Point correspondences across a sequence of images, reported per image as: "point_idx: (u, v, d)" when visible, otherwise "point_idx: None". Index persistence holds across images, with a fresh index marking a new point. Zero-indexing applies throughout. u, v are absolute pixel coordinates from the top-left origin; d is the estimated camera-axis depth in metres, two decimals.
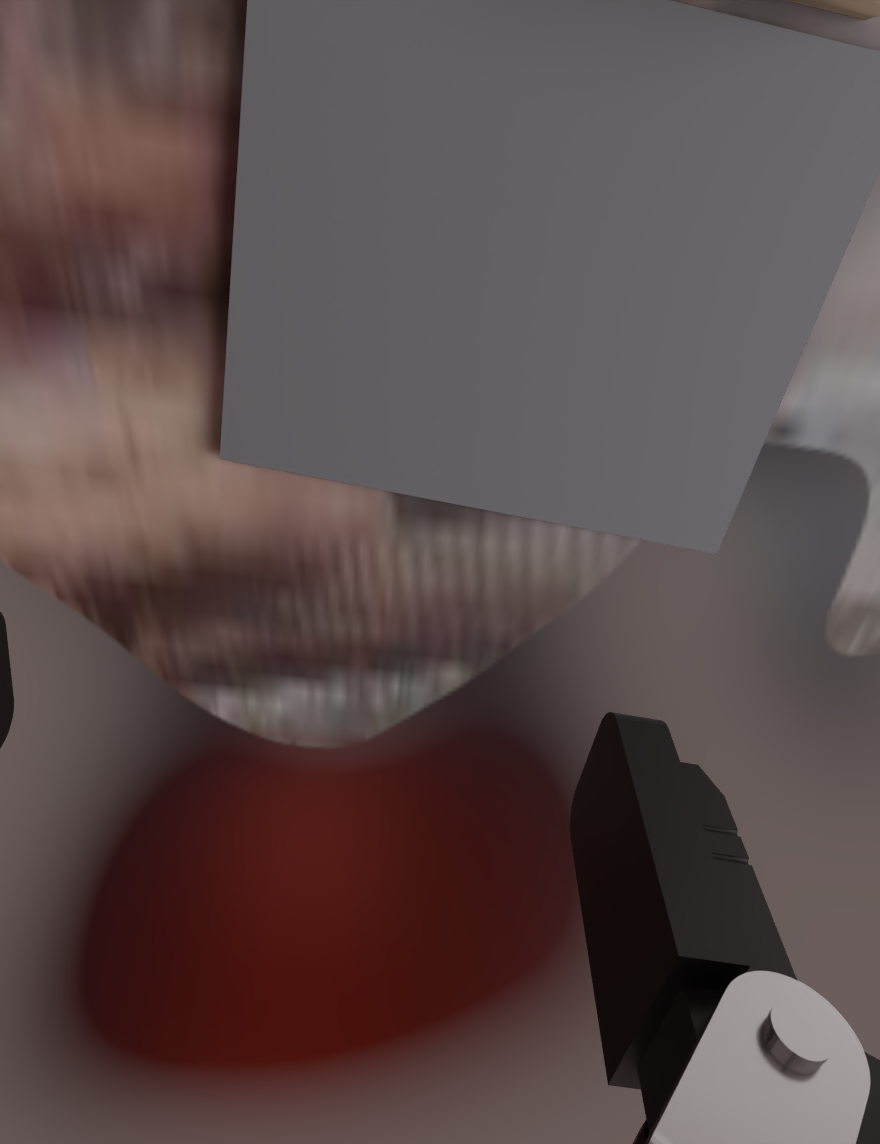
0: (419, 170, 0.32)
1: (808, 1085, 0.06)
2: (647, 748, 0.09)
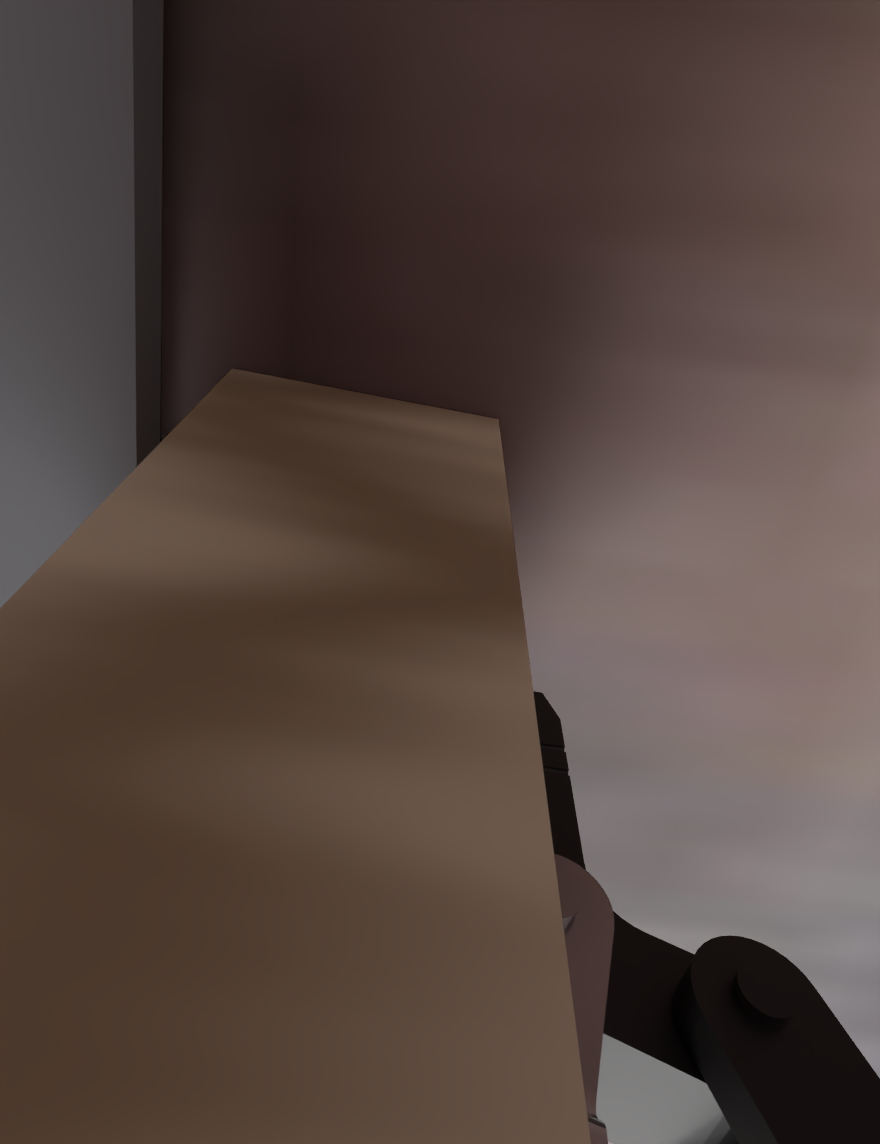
0: None
1: None
2: None
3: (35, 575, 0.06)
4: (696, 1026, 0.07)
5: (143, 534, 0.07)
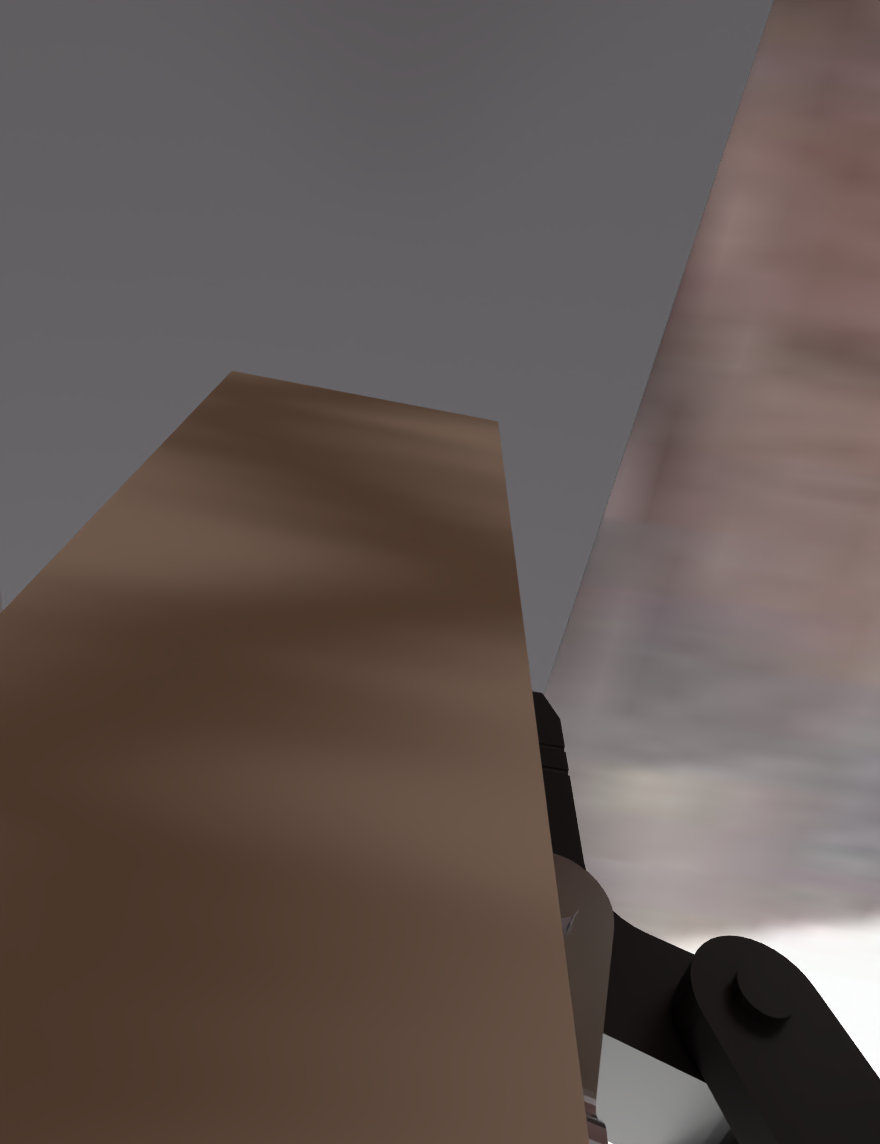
0: (453, 179, 0.23)
1: None
2: None
3: (36, 579, 0.06)
4: (696, 1026, 0.07)
5: (143, 537, 0.07)
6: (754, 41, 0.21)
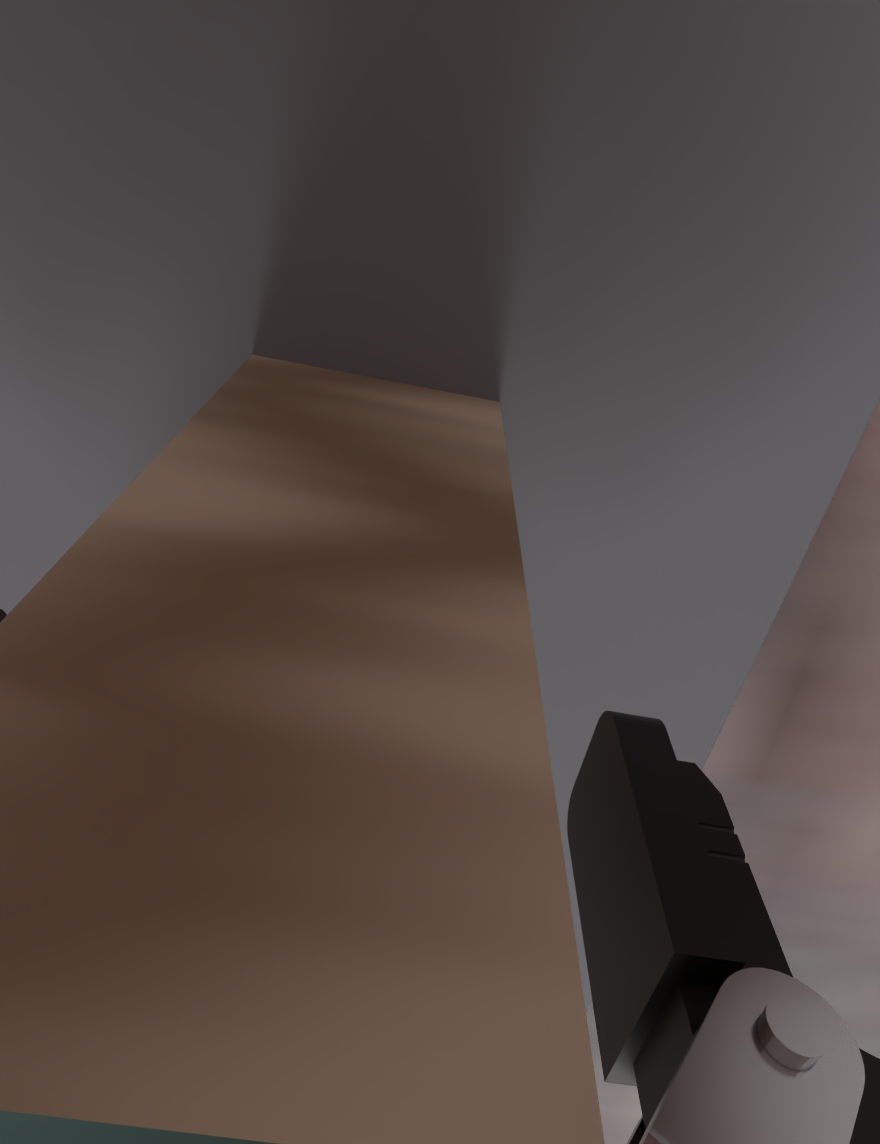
0: (427, 248, 0.11)
1: (803, 1081, 0.06)
2: (644, 746, 0.09)
3: (94, 527, 0.07)
4: None
5: (183, 494, 0.08)
6: None
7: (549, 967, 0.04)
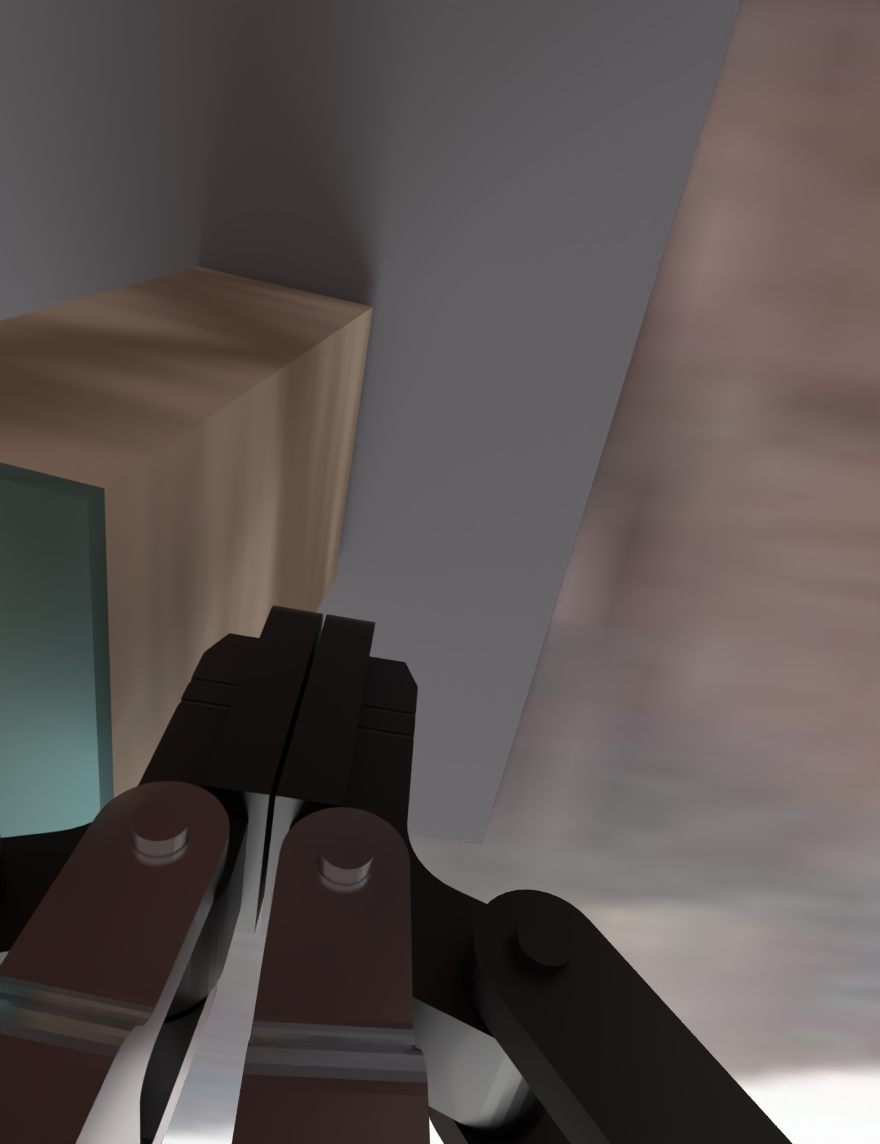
0: (318, 187, 0.16)
1: (337, 889, 0.07)
2: (343, 641, 0.10)
3: (22, 315, 0.12)
4: (486, 996, 0.06)
5: (88, 312, 0.13)
6: None
7: (137, 452, 0.08)
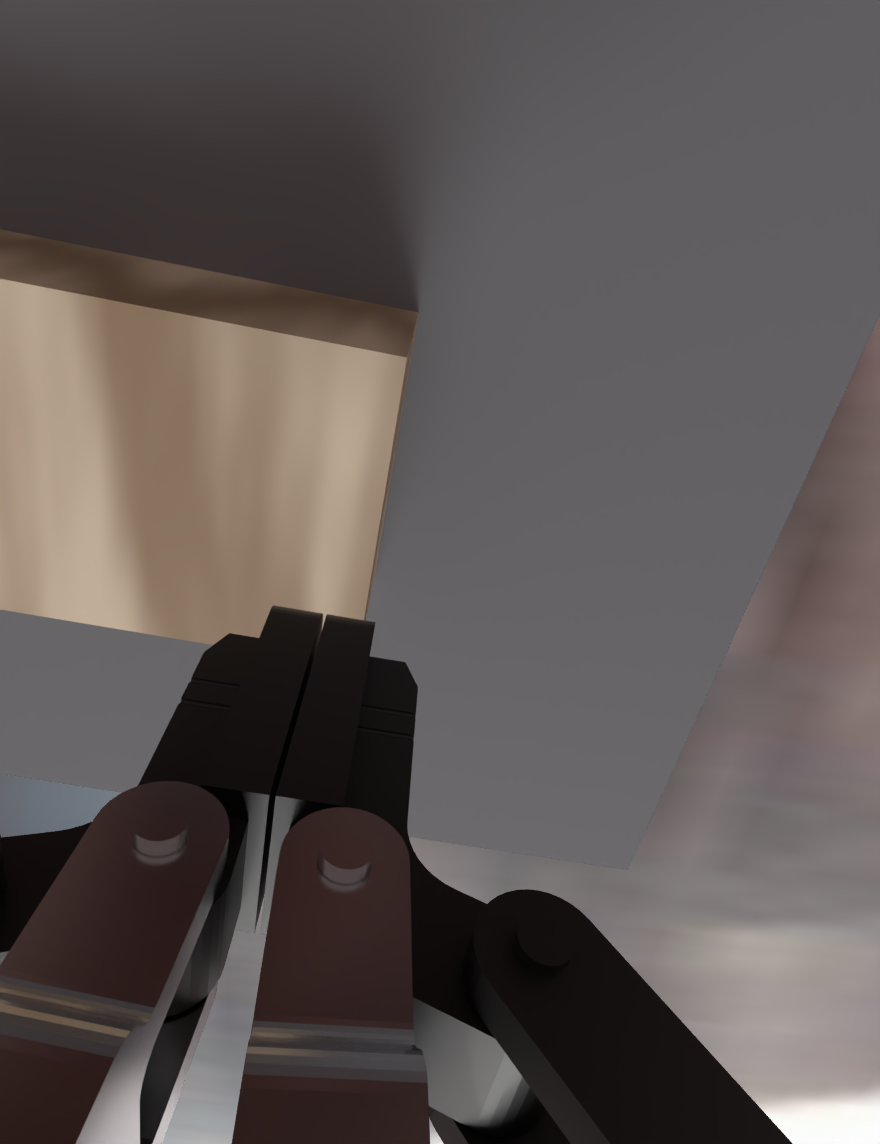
0: (551, 237, 0.17)
1: (337, 890, 0.07)
2: (343, 641, 0.10)
3: (142, 258, 0.17)
4: (486, 996, 0.06)
5: (177, 269, 0.17)
6: None
7: None
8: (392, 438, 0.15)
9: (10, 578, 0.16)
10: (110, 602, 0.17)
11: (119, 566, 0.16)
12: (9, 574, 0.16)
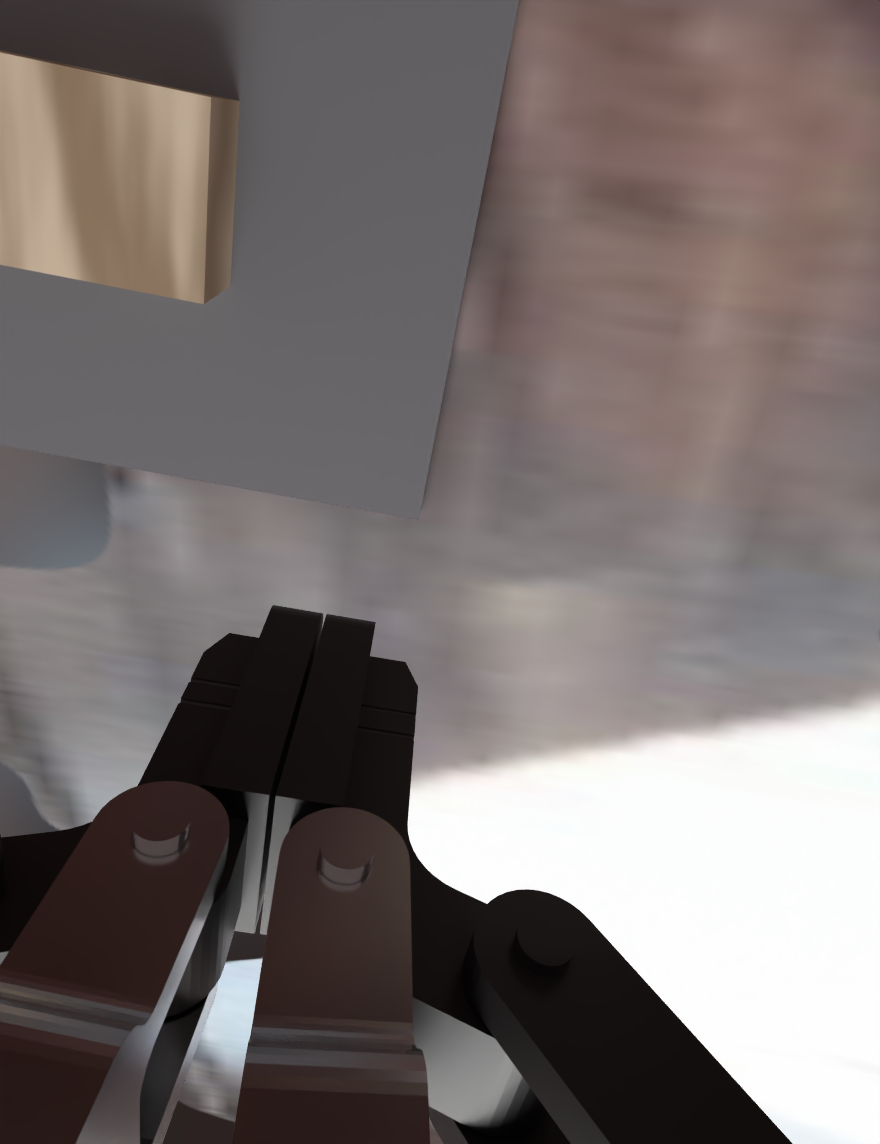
0: (309, 53, 0.30)
1: (337, 890, 0.07)
2: (343, 641, 0.10)
3: (80, 67, 0.30)
4: (486, 996, 0.06)
5: (99, 71, 0.30)
6: None
7: None
8: (208, 147, 0.28)
9: (6, 242, 0.29)
10: (62, 258, 0.30)
11: (66, 233, 0.29)
12: (5, 239, 0.29)
